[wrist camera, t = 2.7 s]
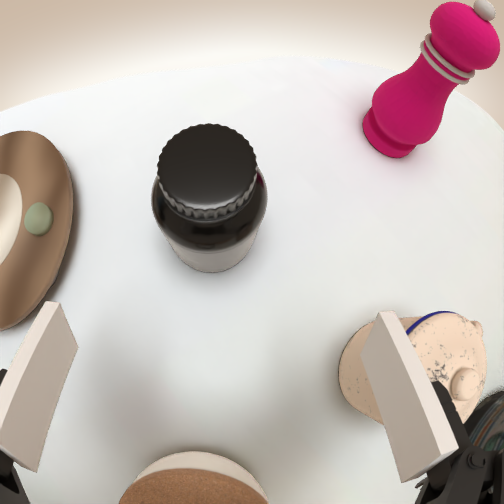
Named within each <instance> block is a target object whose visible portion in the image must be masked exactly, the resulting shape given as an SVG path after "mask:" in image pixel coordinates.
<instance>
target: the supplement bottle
mask: <svg viewBox="0 0 504 504" xmlns="http://www.w3.org/2000/svg"><path fill="white" fill-rule="evenodd" d="M157 168H158V171H157V176H156V178H155V181H154V183H153V187H152V193H151V205H152V211H153V214H154V217H155V220H156V222H157V224H158V226H159V228H160V229H161V231H162V233H163V234H164V236H165V237H166V239H167V240H168V242H169V243H170V245H171V247H172V248H173V250H174V251H175V253H176V254H177V255H178V257H179V258H180V259H181V260H182V261H183V262H184V263H186V264H187V265H188V266H190V267H192V268H194V269H196V270H199V271H203V272H220V271H224V270H227V269H229V268H231V267H233V266H235V265H236V264H238V263H239V262H240V261H241V260H242V259H243V258H244V257H245V256H246V254H247V253H248V251H249V249H250V247H251V245H252V243H253V241H254V238H255V236H256V234H257V231H258V229H259V227H260V224H261V222H262V220H263V217H264V214H265V211H266V206H267V187H266V183H265V180H264V177H263V175H262V173H261V171H260V169H259V168H258V165H257V162H256V155H255V154H254V153H253V148H252V147H251V146H250V145H249V141H248V140H246V139H244V137H243V135H241V134H239V133H237V131H236V130H234V129H230V128H229V127H227V126H221V125H219V124H209V123H208V124H205V125H203V124H199V125H196V126H190V127H189V128H187V129H184V130H182V131H180V133H178V134H175V135H174V136H173V138H172V139H170V140H169V141H168V142H167V145H166V146H165V147H163V149H162V153H161V154H160V156H159V162H158V164H157Z"/></svg>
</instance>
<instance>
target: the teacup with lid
mask: <svg viewBox="0 0 504 504" xmlns="http://www.w3.org/2000/svg"><path fill="white" fill-rule="evenodd" d="M398 319H399V321H400V322H401V324H402V326H403V328H404V330H405V332H406V334H407V336H408V338H409V339H410V341H411V343H412V345H413V347H414V349H415V351H416V353H417V355H418V357H419V359H420V361H421V363H422V365H423V367H424V369H425V371H426V373H427V375H428V378H429V380H430V382H433V381H438V380H439V381H440V382H441V383H442V384H443V385H444V386H445V388H446V389H447V390H448V392H449V394H450V396H451V398H452V402H453V403H454V405H455V407H456V411H458V414H459V416H460V418H461V420H462V423H463V424H464V422H465V421H466V420H467V419H468V418H469V416H470V415H471V413H472V412H473V410H474V409H475V407H476V405H477V403H478V401H479V398H480V396H481V393H482V390H483V387H484V383H485V378H486V369H487V359H486V351H485V346H484V343H483V340H482V336H483V330H482V326H481V324H480V323H479V322H478V321H469V320H468V319H466V318H465V317H463V316H461V315H459V314H457V313H454V312H450V311H438V312H434V313H431V314H428V315H426V316H423V317H410V318H398ZM374 322H375V321H374ZM374 322H371V323H369V324H367V325H366V326H364V327H363V328H361V329H360V330H359V331H358V332H357V333H356V334H355V335H354V336H353V337H352V338H351V339H350V341H349V342H348V344H347V346H346V348H345V349H344V352H343V354H342V357H341V361H340V366H339V382H340V387H341V390H342V393H343V395H344V397H345V398H346V400H347V401H348V402H349V403H350V404H351V405H352V406H353V407H354V408H355V409H357V410H359V411H360V412H362V413H364V414H365V415H367V416H369V417H370V418H372V419H374V420H375V421H377V422H379V423H381V424H382V425H384V423H383V420H382V417H381V414H380V411H379V408H378V405H377V402H376V399H375V396H374V393H373V390H372V387H371V384H370V382H369V379H368V376H367V373H366V370H365V368H364V365H363V362H362V359H361V357H360V354H361V351H362V349H363V347H364V345H365V343H366V341H367V338H368V336H369V334H370V331H371V329H372V327H373V325H374Z"/></svg>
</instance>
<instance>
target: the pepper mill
mask: <svg viewBox="0 0 504 504" xmlns="http://www.w3.org/2000/svg"><path fill="white" fill-rule="evenodd" d="M495 14H496V13H495V9H494V7H493V6H492V4H491V3H490V2H488V1H486V0H477V1H475V3H474V9H473V8H472V7H470V6H467V5H465V4H462V3H459V2H447V3H444V4H441V5H440V6H439V7H438V8H437V9H436V10H435V11H434V12H433V14H432V16H431V19H430V28H431V32H432V33H430V34H427V35H426V37H425V40H424V41H423V42H422V43H421V45H420V48H421V51H422V52H421V54H420V56H419V58H418V59H417V61H416V62H415V63H414V64H413V65H412V66H411V67H410V68H409V69H408V70H406V71H405V72H403V73H400V74H398V75H395V76H393V77H391V78H389V79H388V80H386V81H385V82H383V83H382V84H381V85H380V86H379V87H378V89H377V90H376V91H375V93H374V95H373V98H372V107H371V108H370V109H369V111H368V112H367V114H366V115H365V117H364V120H363V130H364V133H365V135H366V137H367V139H368V140H369V142H370V143H371V144H372V145H373V146H374V147H375V148H376V149H377V150H378V151H380V152H381V153H383V154H385V155H387V156H390V157H394V158H401V157H404V156H406V155H408V154H409V153H410V152H411V151H412V150H413V149H414V148H415V147H416V145H418V144H423V143H426V142H427V141H429V140H430V139H431V138H432V136H433V135H434V134H435V133H436V131H437V129H438V127H439V125H440V123H441V120H442V115H443V111H444V106H445V103H446V101H447V99H448V97H449V95H450V93H451V92H452V91H453V89H454V88H455V87H456V86H457V85H459V84H467V83H468V82H469V79H470V78H472V77H473V76H474V75H475V69H476V70H482V69H487V68H489V67H491V66H492V64H494V62H495V61H496V60H497V58H498V55H499V52H500V42H499V39H498V35H497V33H496V31H495V29H494V28H493V26H492V25H491V24H490V22H489V21H490V20H493V19H494V18H495Z"/></svg>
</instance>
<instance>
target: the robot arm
mask: <svg viewBox="0 0 504 504" xmlns="http://www.w3.org/2000/svg"><path fill="white" fill-rule="evenodd" d="M77 350H78V345H77V343H76V340H75V338H74V336H73V334H72V331H71V329H70V326H69V324H68V322H67V319H66V317H65V314H64V312H63V309H62V307H61V304H60V303H59V302H50V301H46V302H45V303H44V305H43V307H42V308H41V310H40V312H39V313H38V315H37V317H36V318H35V320H34V322H33V324H32V325H31V327H30V329H29V331H28V332H27V334H26V336H25V338H24V340H23V342H22V343H21V345H20V347H19V349H18V351H17V353H16V355H15V357H14V359H13V361H12V363H11V365H10V367H9V369H8V370H6V369H2V370H1V371H0V504H30V502H29V500H28V498H27V496H26V493H25V491H24V489H23V486H22V484H21V482H20V479H19V477H18V474H17V471H16V469H15V468H14V466H13V462H14V461H15V462H16V463H17V464H19V465H20V466H21V467H24V468H26V469H28V470H31V471H33V472H36V473H37V470H38V466H39V462H40V458H41V455H42V451H43V447H44V444H45V440H46V437H47V434H48V430H49V427H50V424H51V421H52V418H53V415H54V411H55V408H56V406H57V403H58V400H59V397H60V394H61V391H62V388H63V386H64V383H65V380H66V378H67V375H68V372H69V370H70V367H71V365H72V362H73V360H74V357H75V355H76V352H77ZM360 357H361V359H362V362H363V365H364V368H365V370H366V373H367V376H368V379H369V382H370V384H371V387H372V390H373V393H374V396H375V399H376V402H377V405H378V408H379V411H380V414H381V417H382V420H383V423H384V426H385V429H386V433H387V436H388V439H389V442H390V445H391V449H392V452H393V455H394V459H395V462H396V465H397V469H398V472H399V476H400V480H401V483H404V482H407V481H410V480H413V479H416V478H418V477H420V476H421V475H423V474H424V473H427V476H428V477H426V478H425V479H423V480H422V481H420V482H419V483H417V485H416V486H415V488H418V487H420V486H422V485H423V486H422V488H421V489H420V490H421V491H420V493H419V495H418V497H417V500H416V502H415V504H504V448H503V449H502V450H494V451H484V450H483V449H482V448H480V447H479V446H474V445H473V444H472V443H471V441H470V439H469V437H468V434H467V432H466V430H465V427H464V425H463V423H462V420H461V418H460V416H459V414H458V411H456V407H455V405H454V403H453V402H452V398H451V396H450V394H449V392H448V390H447V389H446V388H445V386H444V385H443V384H442V383H441V382H440V381H439V380H438V381H433V382H430V380H429V378H428V375H427V373H426V371H425V369H424V367H423V365H422V363H421V361H420V359H419V357H418V355H417V353H416V351H415V349H414V347H413V345H412V343H411V341H410V339H409V338H408V336H407V334H406V332H405V330H404V328H403V326H402V324H401V322H400V321H399V319H398V317H397V315H396V313H395V311H383V312H379V313H378V315H377V317H376V320H375V322H374V325H373V327H372V329H371V331H370V334H369V336H368V338H367V341H366V343H365V345H364V347H363V349H362V351H361V354H360ZM491 487H493V493H492V491H491Z"/></svg>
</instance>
